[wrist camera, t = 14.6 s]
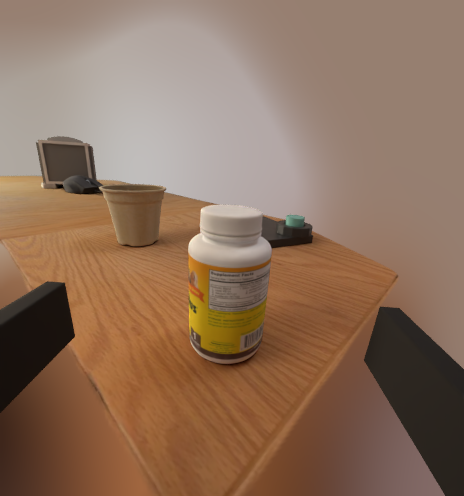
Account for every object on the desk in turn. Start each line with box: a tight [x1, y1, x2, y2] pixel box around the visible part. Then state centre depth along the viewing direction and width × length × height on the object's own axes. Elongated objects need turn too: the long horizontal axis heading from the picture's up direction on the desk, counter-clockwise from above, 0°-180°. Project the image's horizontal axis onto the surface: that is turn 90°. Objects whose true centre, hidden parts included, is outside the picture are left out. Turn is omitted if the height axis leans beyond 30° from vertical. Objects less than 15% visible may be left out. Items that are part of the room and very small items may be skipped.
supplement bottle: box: [188, 205, 272, 364], centre depth 17 cm, size 6×6×10 cm
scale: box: [261, 216, 313, 248], centre depth 48 cm, size 16×14×3 cm
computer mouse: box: [63, 175, 103, 193], centre depth 83 cm, size 9×32×6 cm, turn 65°
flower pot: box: [99, 184, 166, 246], centre depth 39 cm, size 9×9×9 cm
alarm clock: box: [36, 137, 97, 188], centre depth 96 cm, size 18×13×18 cm
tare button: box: [285, 215, 304, 227], centre depth 44 cm, size 3×3×2 cm
